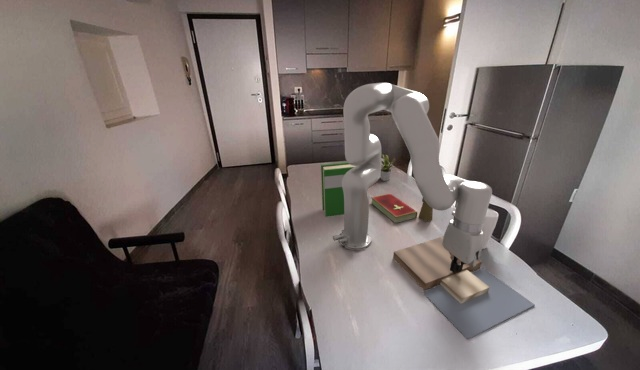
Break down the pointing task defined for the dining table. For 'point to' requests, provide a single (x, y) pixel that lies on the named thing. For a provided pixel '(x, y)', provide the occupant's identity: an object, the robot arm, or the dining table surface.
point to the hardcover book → (394, 208)
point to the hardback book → (333, 187)
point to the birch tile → (464, 286)
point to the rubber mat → (480, 305)
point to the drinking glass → (489, 226)
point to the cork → (426, 212)
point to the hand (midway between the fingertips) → (455, 270)
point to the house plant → (386, 169)
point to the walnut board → (428, 262)
